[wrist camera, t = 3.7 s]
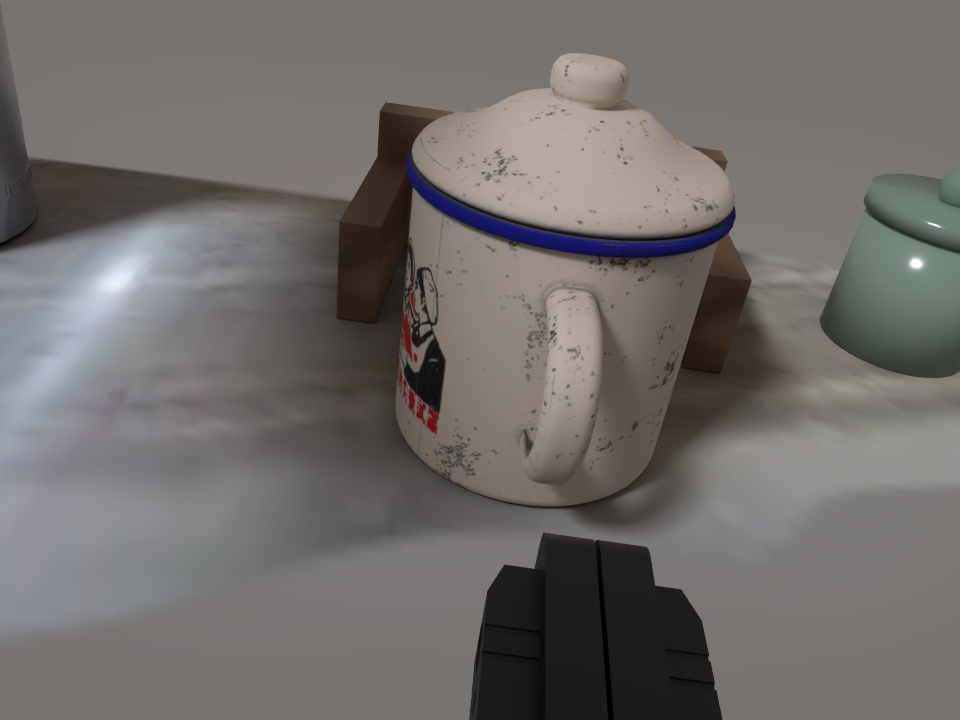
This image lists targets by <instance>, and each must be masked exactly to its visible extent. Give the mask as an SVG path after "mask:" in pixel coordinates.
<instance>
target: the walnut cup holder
mask: <svg viewBox="0 0 960 720" xmlns="http://www.w3.org/2000/svg"><path fill="white" fill-rule="evenodd" d="M453 113H455V112H449V111H442V110H435V109H428V108H421V107H414V106H407V105H400V104H393V103H387V102H386V103H385V105H384V106H383V108H382V109H381V110H380V119H379V138H378V156H377V158H376V160H375V162H374V164H373V165H372V167H371V169H370V171H369V172H368V174H367V176H366V177H365V179H364V181H363V183H362V184H361V186H360V188H359V189H358V191H357V193H356V195H355V196H354V198H353V200H352V201H351V203H350V205H349V207H348V208H347V210H346V212H345V213H344V215H343V217H342V219H341V220H340V233H339V265H338V296H337V318H342V319H349V320H356V321H363V322H370V323H376V320H377V317H378V315H379V312H380V309H381V307H382V304H383V301H384V299H385V296H386V293H387V291H388V288H389V285H390V283H391V280H392V277H393V275H394V272H395V269H396V267H397V264H398V261H399V259H400V256H401V253H402V251H403V248H404V245H408V242H409V230H410V218H411V205H412V193H413V186H412V185H411V183H410V182H409V179H408V177H407V174H406V161H407V157H408V155H409V153H410V151H411V150H412V147H413V144H414V141H415V140H416V138H417V137H418V135H419V134H420V133H421V131H422V130H423V129H424V128H425V127H426V126H428V125H429V124H430V123H432V122H433V121H435V120H437V119H439V118H441V117H444V116H446V115H449V114H453ZM692 148H694V149H696V150H698V151H700V152H701V153H703V154H704V155H706V156H707V157H709V158H710V159H712V160H713V161H714V162H715V163H716V164H717V165H719V166H720V167H721V169H722V170H723V171H724V172H725V168H726V165H727V160H726V158H725V157H724V155H723V153H722V152H721V151H718V150H711V149H705V148H698V147H692ZM751 281H752V280H751V278H750V276H749V274H748V272H747V270H746V268H745V266H744V264H743V262H742V260H741V258H740V256H739V254H738V252H737V250H736V248H735V246H734V244H733V242H732V240H731V238H730V236H729V234H727V235H726V236H725V237H724V238H722V239H721V240H719V241H718V244H717V248H716V251H715V254H714V257H713V261H712V264H711V267H710V270H709V274H708V277H707V280H706V283H705V287H704V290H703V293H702V296H701V300H700V303H699V306H698V309H697V313H696V316H695V319H694V322H693V326H692V329H691V332H690V335H689V339H688V342H687V345H686V349H685V352H684V355H683V358H682V362H681V365H682V367H684V368H691V369H698V370H705V371H712V372H719V373H720V372H721V369H722V366H723V363H724V360H725V357H726V354H727V351H728V349H729V346H730V343H731V340H732V337H733V334H734V331H735V328H736V325H737V322H738V319H739V316H740V313H741V310H742V307H743V305H744V302H745V299H746V296H747V293H748V290H749V287H750V284H751Z"/></svg>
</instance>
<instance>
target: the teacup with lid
mask: <svg viewBox="0 0 960 720" xmlns="http://www.w3.org/2000/svg"><path fill="white" fill-rule="evenodd" d="M628 81H629V76H628V72H627V70H626V68H625V67H624V65H622V64H621V63H620V62H618V61H615V60H612V59H609V58H606V57H601V56H596V55H590V54H578V53H572V54H565V55H562V56H561V57H560V58H559V59H558V60H557V61H556V62H555V63H554V65H553V67H552V72H551V79H550V86H551V88H542V89H534V90H528V91H523V92H520V93H518V94H515V95H513V96H510V97H508V98H506V99H504V100H502V101H501V102H499V103H497V104H495V105H493V106H491V107H489V108H480V109H472V110H466V111H462V112H457V113H453V114H449V115H446V116H444V117H441V118H439V119H437V120H435V121H433V122H432V123H430V124H429V125H428V126H426V127H425V128H424V129H423V130H422V131H421V133H420V134H419V135H418V137H417V138H416V140H415V141H414V144H413V147H412V150H411V151H410V153H409V155H408V157H407V161H406V174H407V177H408V179H409V182H410V183H411V185H412V186H413V193H412V205H411V218H410V230H409V242H408V254H407V266H406V279H405V291H404V303H403V315H402V327H401V339H400V352H399V364H398V376H397V388H396V400H395V408H396V417H397V422H398V425H399V427H400V430H401V432H402V434H403V436H404V438H405V440H406V442H407V443H408V444H409V446H410V447H411V448H412V450H413V451H414V452H415V453H416V454H417V455H418V456H419V458H421V459H422V460H423V461H424V462H425V463H426V464H427V465H428V466H429V467H431V468H432V469H433V470H435V471H436V472H437V473H439V474H440V475H442V476H443V477H445V478H446V479H448V480H450V481H451V482H453V483H455V484H457V485H459V486H461V487H463V488H466V489H468V490H470V491H472V492H475V493H478V494H481V495H483V496H486V497H490V498H493V499H497V500H501V501H505V502H510V503H515V504H522V505H530V506H569V505H576V504H583V503H587V502H591V501H595V500H598V499H601V498H604V497H607V496H609V495H611V494H614V493H616V492H618V491H620V490H621V489H623V488H625V487H626V486H628V485H629V484H630V483H632V482H633V481H634V480H635V479H636V478H637V477H638V476H639V475H640V474H641V473H642V472H643V471H644V470H645V468H646V467H647V465H648V463H649V462H650V460H651V458H652V456H653V452H654V449H655V446H656V443H657V440H658V436H659V433H660V430H661V427H662V423H663V420H664V417H665V414H666V410H667V407H668V404H669V401H670V397H671V394H672V391H673V388H674V384H675V381H676V378H677V375H678V371H679V368H680V365H681V362H682V358H683V355H684V352H685V349H686V345H687V342H688V339H689V335H690V332H691V329H692V326H693V322H694V319H695V316H696V313H697V309H698V306H699V303H700V300H701V296H702V293H703V290H704V287H705V283H706V280H707V277H708V274H709V270H710V267H711V264H712V261H713V257H714V254H715V251H716V248H717V244H718V241H719V240H721V239H722V238H724V237H725V236H726V235H727V234H728V233H729V231H730V230H731V228H732V227H733V224H734V220H735V216H736V215H735V207H734V204H735V196H734V191H733V188H732V185H731V182H730V180H729V178H728V176H727V175H726V173H725V172H724V171H723V170H722V169H721V167H720V166H719V165H717V164H716V163H715V162H714V161H713V160H712V159H710V158H709V157H707V156H706V155H704V154H703V153H701V152H700V151H698V150H696V149H694V148H692V147H691V146H688V145H686V144H685V143H682V142H680V141H678V140H676V139H674V138H673V137H672V136H671V135H670V133H669V132H668V131H667V130H666V129H665V128H664V127H663V126H662V125H661V123H660V122H659V121H658V120H656V119H655V118H654V117H653V116H652V115H650V114H649V113H648V112H646V111H645V110H643V109H641V108H639V107H637V106H635V105H633V104H631V103H629V102H627V101H624V100H623V98H624V97H625V95H626V91H627V86H628Z"/></svg>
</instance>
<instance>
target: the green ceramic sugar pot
mask: <svg viewBox="0 0 960 720" xmlns="http://www.w3.org/2000/svg"><path fill="white" fill-rule="evenodd" d="M864 204H865V206H866V209H865V211H864V214H863V216H862V219H861V221H860V224H859V226H858V228H857V231H856V233H855V236H854V238H853V240H852V243H851V245H850V247H849V250H848V252H847V254H846V257H845V259H844V262H843V264H842V266H841V269H840V271H839V274H838V276H837V278H836V281H835V283H834V285H833V288H832V290H831V293H830V295H829V297H828V300H827V302H826V305H825V307H824V309H823V312H822V314H821V317H820V324H821V327H822V329H823V330H824V332H825V333H826V334H827V335H828V336H829V338H830V339H832V340H833V341H834V342H835V343H836V344H837V345H839V346H840V347H842V348H843V349H845V350H846V351H848V352H849V353H851V354H853V355H855V356H857V357H858V358H860V359H862V360H865V361H867V362H869V363H871V364H874V365H876V366H879V367H882V368H884V369H887V370H891V371H894V372H897V373H902V374H906V375H911V376H916V377H925V378H942V377H948V376H951V375H954V374H956V373H958V372H959V371H960V168H959V169H956V170H953V171H951V172H949V173H948V174H947V175H946V176H945V177H944V178H943V179H942V180H940V179H935V178H930V177H924V176H917V175H909V174H884V175H879V176H876V177H875V178H873V180H872V181H871V184H870V186H869V189H868V191H867V193H866V196H865V198H864Z"/></svg>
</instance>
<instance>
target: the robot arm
mask: <svg viewBox="0 0 960 720" xmlns="http://www.w3.org/2000/svg"><path fill="white" fill-rule="evenodd" d="M36 215H37V205H36V200H35V194H34V189H33V183H32V172H31V166H30V164H29V161H28V156H27V151H26V145H25V140H24V134H23V128H22V120H21V115H20V109H19V104H18V98H17V93H16V88H15V82H14V76H13V71H12V65H11V60H10V55H9V50H8V44H7V38H6V33H5V27H4V22H3V16H2V11H1V6H0V243H1V242H4V241H6V240H8V239H10V238H12V237H14V236H15V235H17V234H19V233H21V232H22V231H23V230H25V229H26V228H27V227H28V226H29V225H30V224H31V223H32V222H33V221H34V219H35V217H36ZM708 656H709V653H708V648H707V643H706V638H705V634H704V629H703V624H702V620H701V619H700V617H699V616H698V614H697V613H696V611H695V610H694V608H693V607H692V605H691V604H690V602H689V601H688V599H687V598H686V596H685V595H684V593H683V591H682V590H681V589H674V588H667V587H660V586H655V583H654V576H653V570H652V563H651V557H650V552H649V550H648V548H647V547H643V546H636V545H629V544H622V543H615V542H607V541H600V540H596V541H595V542H594V540H592V539H585V538H578V537H570V536H563V535H556V534H549V533H543V535H542V538H541V542H540V546H539V551H538V556H537V560H536V565H535V569H531V568H524V567H517V566H509V565H504V566H503V568H502V569H501V571H500V572H499V574H498V575H497V577H496V578H495V580H494V582H493V583H492V585H491V586H490V588H489V589H488V591H487V596H486V602H485V607H484V613H483V618H482V624H481V629H480V635H479V640H478V646H477V651H476V657H475V664H474V675H473V686H472V699H471V707H470V719H469V720H722V715H721V710H720V706H719V701H718V696H717V691H716V690H714V684H715V682H714V677H713V672H712V667H711V662H710V661H708Z"/></svg>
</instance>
